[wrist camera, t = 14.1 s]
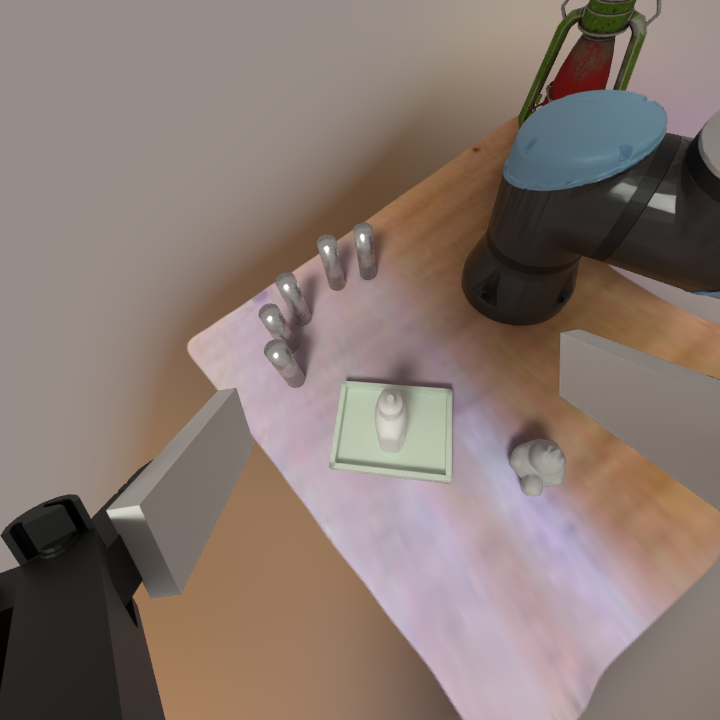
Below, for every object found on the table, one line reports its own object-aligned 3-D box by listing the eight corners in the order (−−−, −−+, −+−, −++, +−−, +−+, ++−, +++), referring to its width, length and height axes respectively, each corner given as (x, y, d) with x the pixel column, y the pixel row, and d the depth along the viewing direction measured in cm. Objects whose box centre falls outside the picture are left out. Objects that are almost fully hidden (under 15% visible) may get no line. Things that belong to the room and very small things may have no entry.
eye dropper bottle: (418, 421, 42) (426, 386, 32) (394, 459, 41) (394, 436, 30) (388, 402, 44) (386, 363, 33) (364, 439, 42) (353, 410, 31)
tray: (450, 394, 44) (452, 389, 42) (449, 483, 40) (451, 481, 38) (344, 386, 46) (342, 380, 45) (331, 469, 42) (328, 467, 40)
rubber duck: (561, 454, 40) (596, 439, 33) (545, 509, 37) (580, 505, 30) (514, 434, 41) (537, 415, 34) (496, 486, 39) (518, 477, 32)
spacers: (379, 270, 54) (376, 226, 46) (298, 390, 47) (277, 362, 39) (340, 255, 57) (330, 210, 49) (257, 368, 49) (228, 337, 41)
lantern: (496, 177, 61) (572, -97, 34) (515, 142, 65) (596, -131, 38) (579, 196, 57) (739, -99, 30) (594, 157, 61) (747, -137, 34)
